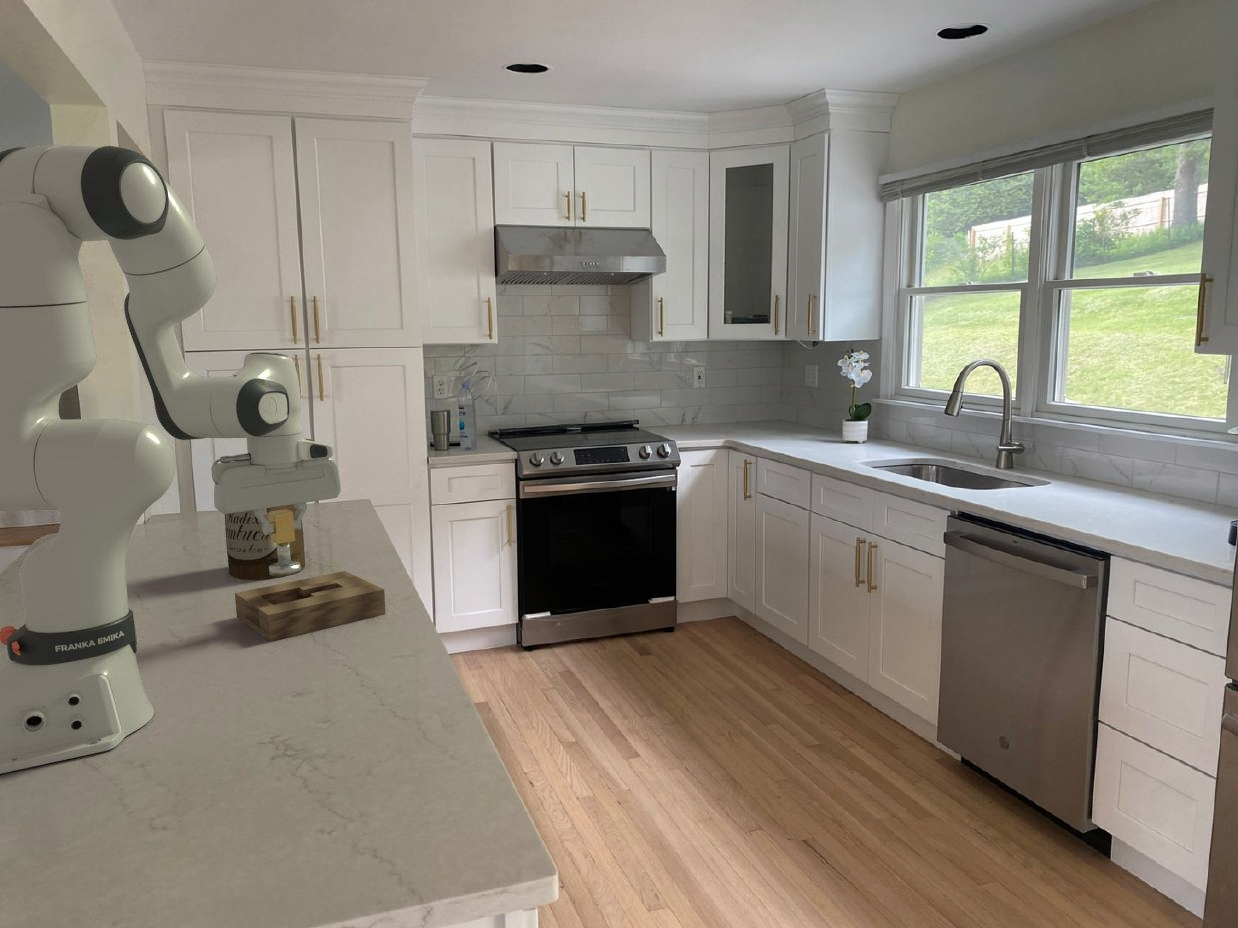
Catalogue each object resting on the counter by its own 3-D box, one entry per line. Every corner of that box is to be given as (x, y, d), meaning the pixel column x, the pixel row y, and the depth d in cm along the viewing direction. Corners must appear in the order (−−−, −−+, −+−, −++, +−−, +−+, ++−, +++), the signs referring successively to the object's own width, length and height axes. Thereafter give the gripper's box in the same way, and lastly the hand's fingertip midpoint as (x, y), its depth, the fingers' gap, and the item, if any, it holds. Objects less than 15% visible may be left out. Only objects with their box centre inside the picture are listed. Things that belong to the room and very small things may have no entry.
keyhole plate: (270, 641, 141) (268, 614, 140) (236, 617, 153) (234, 592, 152) (385, 613, 154) (384, 589, 153) (346, 593, 166) (345, 570, 165)
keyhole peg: (275, 578, 146) (271, 516, 145) (265, 571, 150) (260, 511, 148) (305, 572, 150) (301, 511, 148) (294, 566, 153) (289, 507, 152)
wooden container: (212, 578, 178) (203, 470, 174) (259, 559, 192) (251, 459, 188) (277, 582, 174) (269, 472, 171) (319, 562, 188) (313, 461, 185)
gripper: (216, 459, 137) (224, 545, 140) (342, 446, 151) (347, 525, 153) (204, 455, 142) (211, 538, 144) (326, 442, 155) (332, 519, 157)
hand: (282, 531), depth 149 cm, fingers closed on keyhole peg, 3 cm apart
